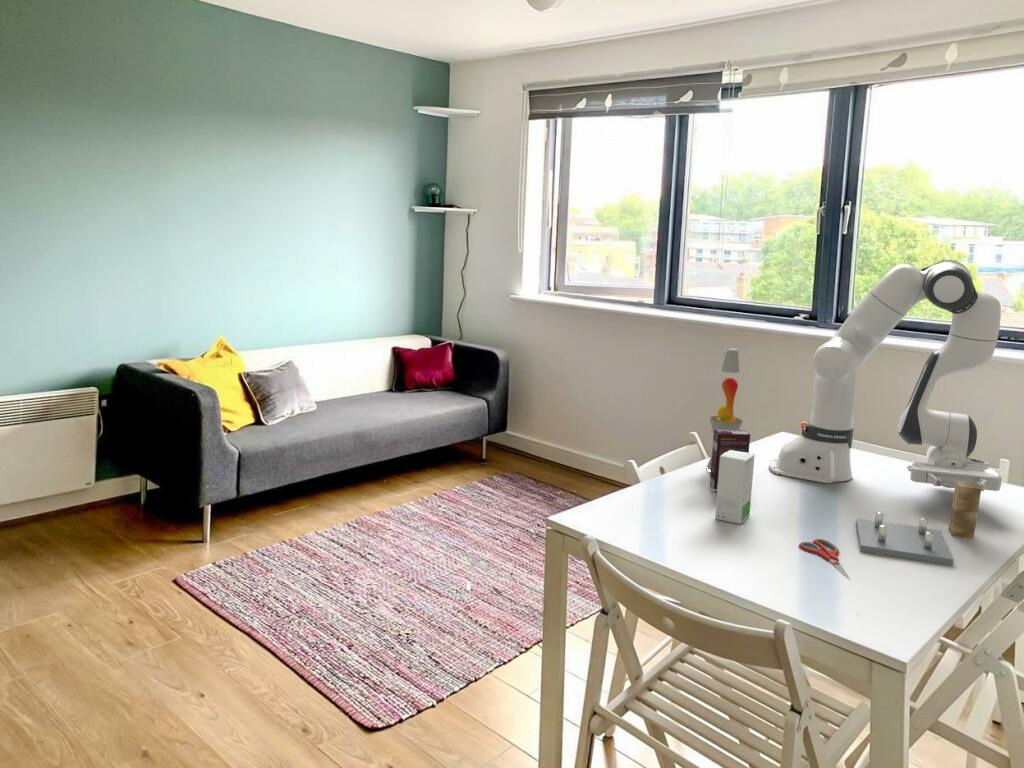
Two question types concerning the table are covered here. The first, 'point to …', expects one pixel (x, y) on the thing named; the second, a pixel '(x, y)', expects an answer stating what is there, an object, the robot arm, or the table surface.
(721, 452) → the supplement box
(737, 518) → the skincare box
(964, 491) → the oak block
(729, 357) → the lava lamp
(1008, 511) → the table surface
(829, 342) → the robot arm
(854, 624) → the table surface
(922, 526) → the standoff pins
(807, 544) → the scissors
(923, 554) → the plate
